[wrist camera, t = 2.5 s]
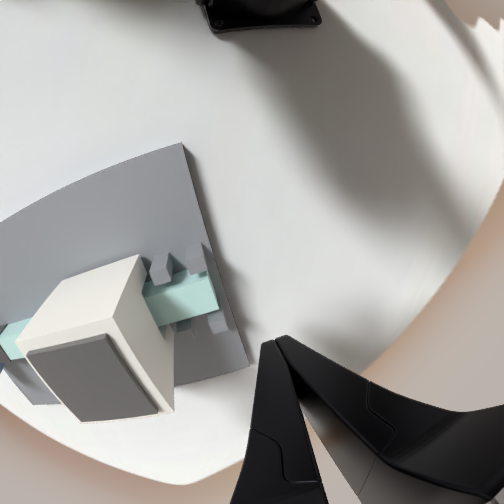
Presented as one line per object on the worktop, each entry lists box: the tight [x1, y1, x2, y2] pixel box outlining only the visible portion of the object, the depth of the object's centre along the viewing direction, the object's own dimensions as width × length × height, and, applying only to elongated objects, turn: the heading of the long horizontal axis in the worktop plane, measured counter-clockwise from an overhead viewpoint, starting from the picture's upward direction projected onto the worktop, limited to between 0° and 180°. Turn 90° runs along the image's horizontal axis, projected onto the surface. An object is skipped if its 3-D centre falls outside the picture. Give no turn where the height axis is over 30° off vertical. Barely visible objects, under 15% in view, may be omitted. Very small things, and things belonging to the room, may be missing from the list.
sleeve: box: [15, 254, 174, 424], centre depth 10 cm, size 5×5×6 cm
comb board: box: [0, 143, 250, 405], centre depth 12 cm, size 20×14×4 cm
